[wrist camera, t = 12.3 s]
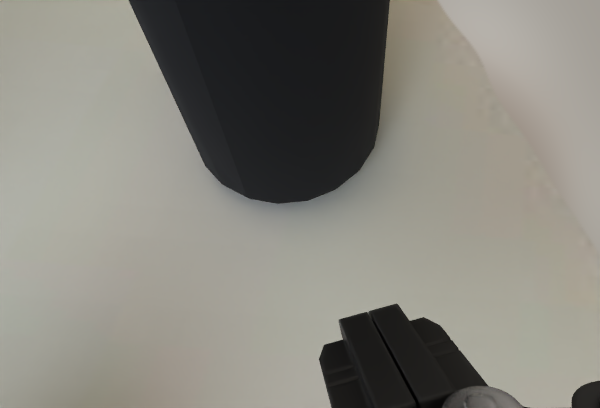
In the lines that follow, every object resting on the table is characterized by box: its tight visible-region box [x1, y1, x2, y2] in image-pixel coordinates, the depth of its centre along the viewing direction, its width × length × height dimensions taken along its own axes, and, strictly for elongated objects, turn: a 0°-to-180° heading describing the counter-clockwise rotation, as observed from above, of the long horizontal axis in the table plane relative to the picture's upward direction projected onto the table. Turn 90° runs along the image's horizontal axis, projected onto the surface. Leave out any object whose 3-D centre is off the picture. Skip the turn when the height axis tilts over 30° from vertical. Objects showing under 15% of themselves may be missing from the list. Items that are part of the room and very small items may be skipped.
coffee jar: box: [129, 0, 390, 204], centre depth 22 cm, size 11×11×18 cm
